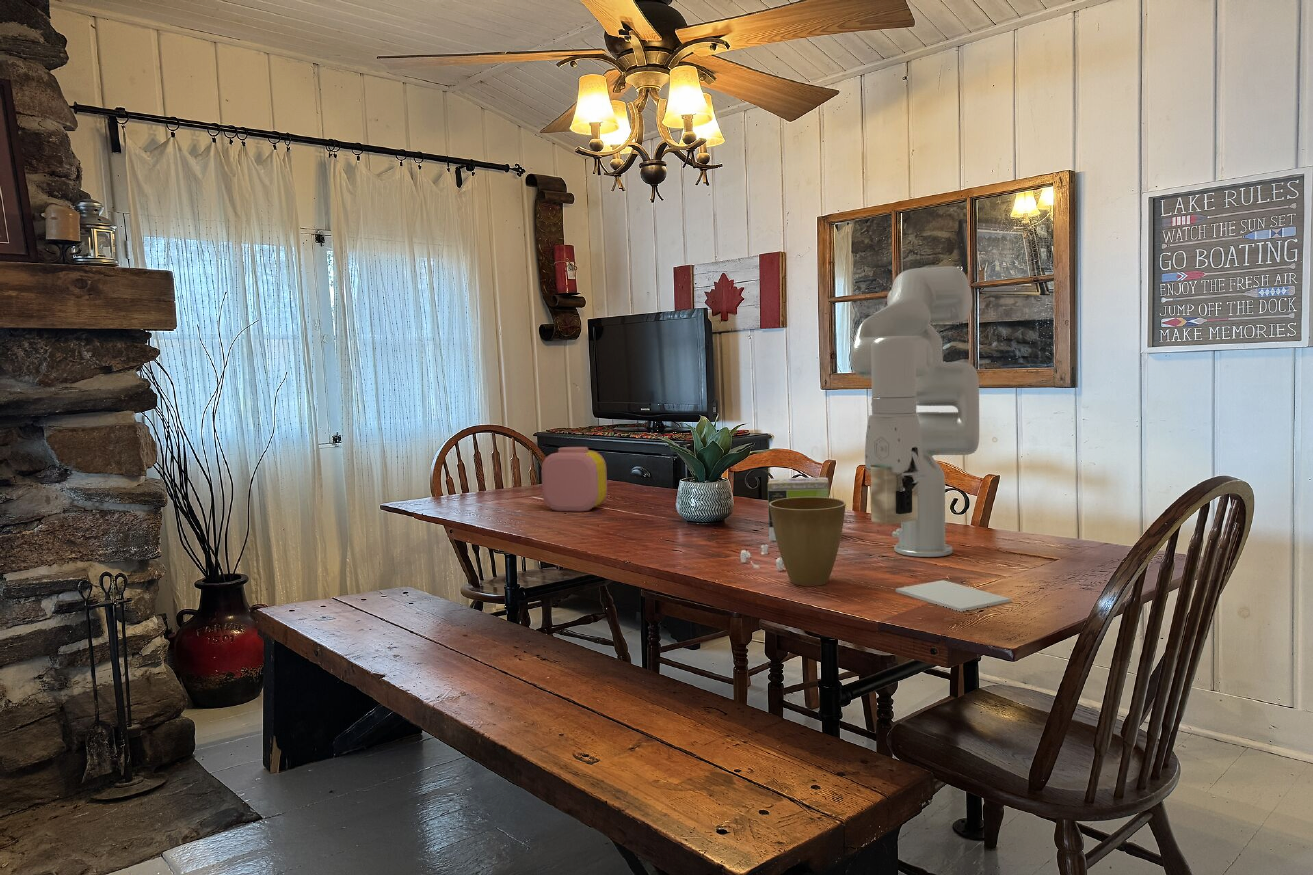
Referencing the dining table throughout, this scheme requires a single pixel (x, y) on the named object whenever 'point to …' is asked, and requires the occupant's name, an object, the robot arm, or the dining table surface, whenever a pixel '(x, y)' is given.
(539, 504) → the dining table surface
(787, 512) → the plant pot
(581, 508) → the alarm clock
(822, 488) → the tea box
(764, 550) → the game piece set
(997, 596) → the rubber mat
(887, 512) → the beige and green box
